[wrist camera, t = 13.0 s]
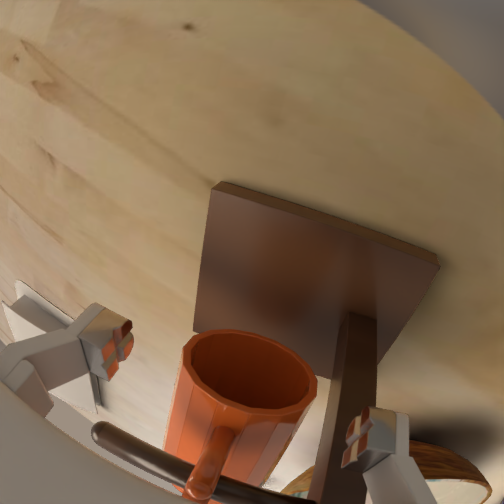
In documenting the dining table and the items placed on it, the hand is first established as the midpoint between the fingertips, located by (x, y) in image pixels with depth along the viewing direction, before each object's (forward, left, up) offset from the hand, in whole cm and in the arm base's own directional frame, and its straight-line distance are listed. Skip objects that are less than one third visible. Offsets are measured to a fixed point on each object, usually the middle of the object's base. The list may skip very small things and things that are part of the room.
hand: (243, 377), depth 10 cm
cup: (+11, 0, +1) cm, 11 cm away
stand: (+5, +1, -11) cm, 12 cm away
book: (+31, -27, -12) cm, 43 cm away
